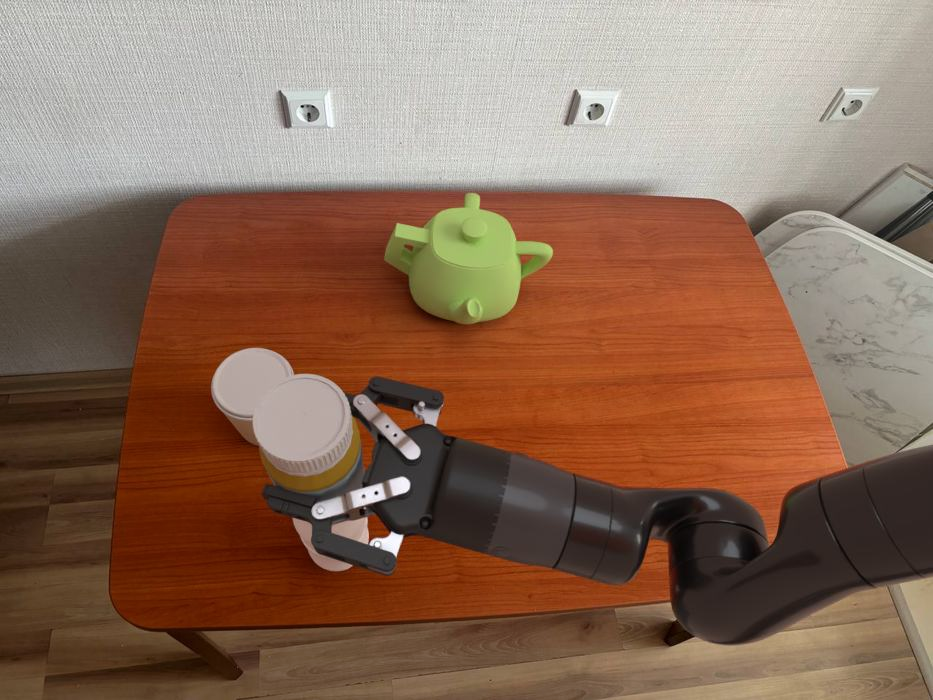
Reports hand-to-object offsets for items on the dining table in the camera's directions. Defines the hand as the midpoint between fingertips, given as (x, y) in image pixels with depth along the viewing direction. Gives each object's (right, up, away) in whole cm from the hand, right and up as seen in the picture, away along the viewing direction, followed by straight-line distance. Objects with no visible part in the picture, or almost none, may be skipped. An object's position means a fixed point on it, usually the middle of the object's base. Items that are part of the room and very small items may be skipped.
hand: (286, 442), depth 44 cm
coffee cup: (-13, -3, +36) cm, 38 cm away
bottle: (+1, -5, +7) cm, 9 cm away
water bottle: (-2, -17, +29) cm, 34 cm away
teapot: (+13, +15, +49) cm, 53 cm away
